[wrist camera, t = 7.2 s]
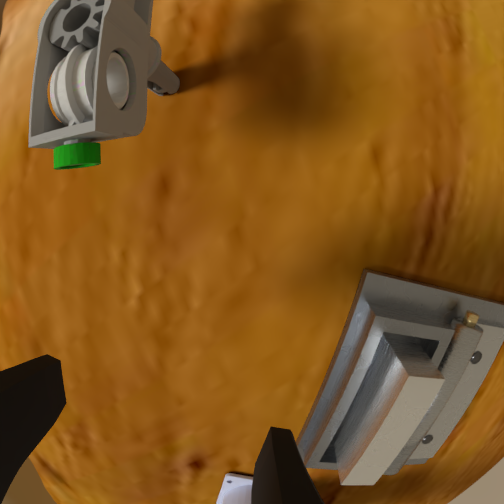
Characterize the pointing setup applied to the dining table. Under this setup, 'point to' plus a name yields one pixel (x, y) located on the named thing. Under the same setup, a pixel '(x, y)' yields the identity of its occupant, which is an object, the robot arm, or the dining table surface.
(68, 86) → the mechanical component
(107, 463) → the dining table surface
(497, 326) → the fixed leaf
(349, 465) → the brushed steel bar
